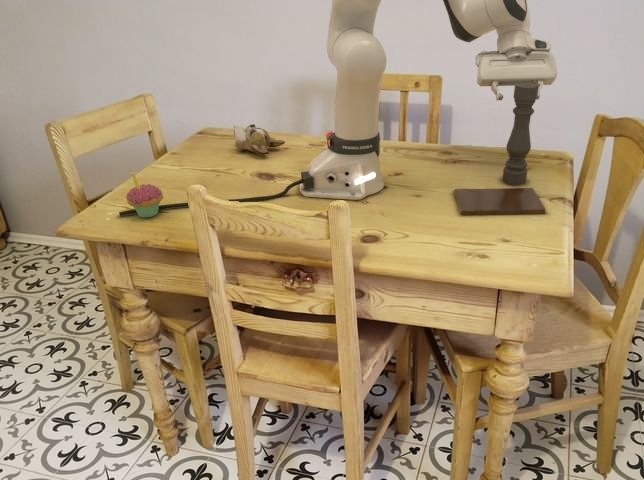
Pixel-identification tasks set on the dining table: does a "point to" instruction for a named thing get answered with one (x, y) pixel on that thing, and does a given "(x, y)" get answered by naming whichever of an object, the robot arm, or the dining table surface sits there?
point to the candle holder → (520, 134)
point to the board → (498, 201)
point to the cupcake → (144, 198)
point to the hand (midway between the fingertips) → (518, 98)
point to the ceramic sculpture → (254, 139)
